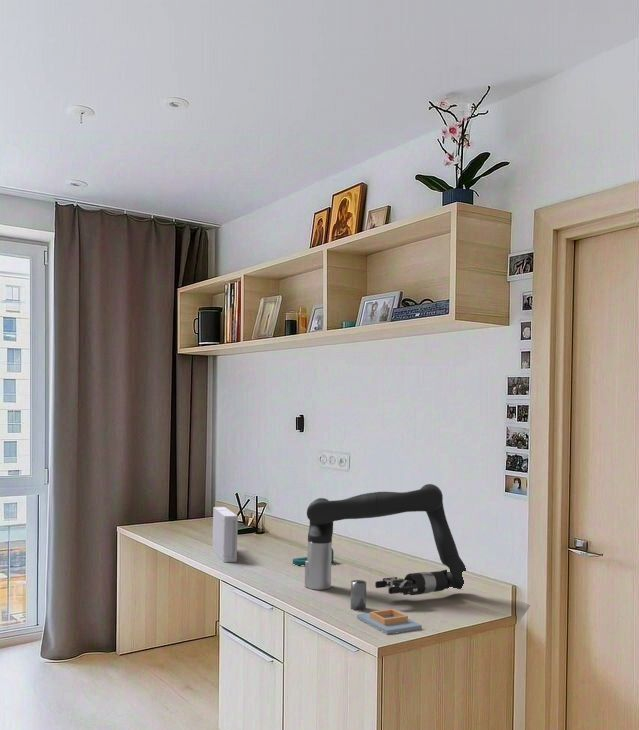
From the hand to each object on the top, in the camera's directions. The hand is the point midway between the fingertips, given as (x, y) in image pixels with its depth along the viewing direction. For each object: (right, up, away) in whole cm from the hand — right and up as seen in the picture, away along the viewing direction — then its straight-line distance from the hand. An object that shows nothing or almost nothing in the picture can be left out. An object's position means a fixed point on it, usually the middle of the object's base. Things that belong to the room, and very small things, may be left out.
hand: (382, 587), depth 256 cm
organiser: (0, -5, -21) cm, 22 cm away
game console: (-65, -8, +74) cm, 99 cm away
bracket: (-25, -9, +63) cm, 68 cm away
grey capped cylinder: (-9, -6, -5) cm, 11 cm away
